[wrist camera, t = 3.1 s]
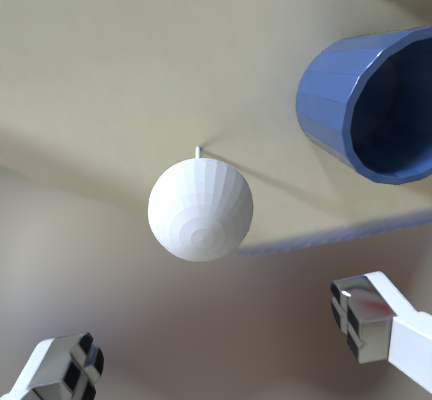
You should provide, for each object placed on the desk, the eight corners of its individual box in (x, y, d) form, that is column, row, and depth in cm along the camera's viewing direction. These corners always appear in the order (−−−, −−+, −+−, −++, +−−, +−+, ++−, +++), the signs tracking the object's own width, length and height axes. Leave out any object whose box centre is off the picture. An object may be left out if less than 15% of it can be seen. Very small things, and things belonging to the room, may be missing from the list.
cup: (291, 151, 27) (331, 189, 19) (300, 38, 23) (358, 26, 15) (385, 145, 28) (462, 180, 20) (412, 33, 23) (526, 19, 15)
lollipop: (183, 104, 25) (170, 157, 11) (240, 133, 26) (288, 210, 13) (157, 163, 27) (121, 266, 14) (210, 187, 28) (225, 300, 15)
